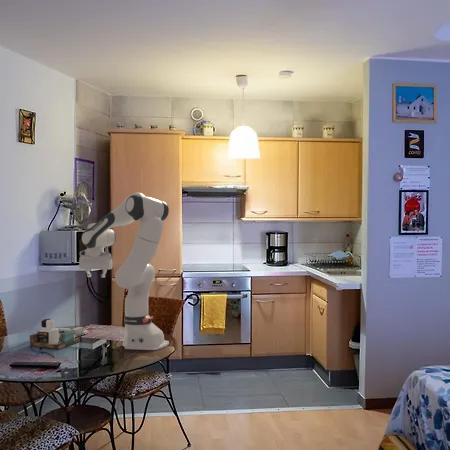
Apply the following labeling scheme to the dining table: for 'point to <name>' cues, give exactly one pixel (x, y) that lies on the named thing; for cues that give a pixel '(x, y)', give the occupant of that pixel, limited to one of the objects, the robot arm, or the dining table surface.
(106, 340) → the dining table surface
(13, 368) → the dining table surface
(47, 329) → the medicine bottle
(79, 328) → the broken sled
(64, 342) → the sled
